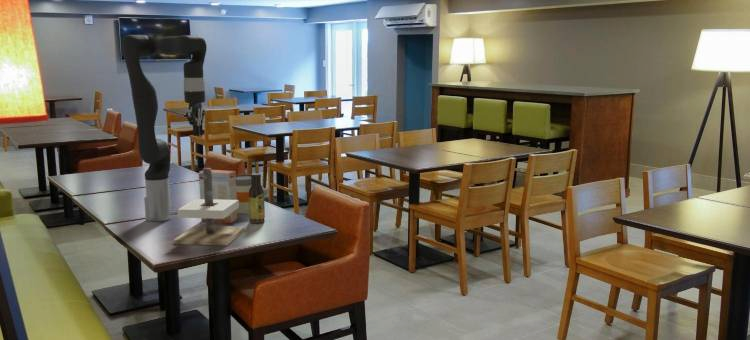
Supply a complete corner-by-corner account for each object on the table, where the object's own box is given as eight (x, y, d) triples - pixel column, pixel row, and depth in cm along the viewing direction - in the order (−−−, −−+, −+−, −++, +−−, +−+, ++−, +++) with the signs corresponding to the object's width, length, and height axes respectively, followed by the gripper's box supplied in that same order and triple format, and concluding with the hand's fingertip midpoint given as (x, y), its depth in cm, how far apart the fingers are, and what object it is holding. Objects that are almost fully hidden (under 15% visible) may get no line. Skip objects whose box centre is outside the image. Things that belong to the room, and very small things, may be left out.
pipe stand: (173, 243, 227) (169, 173, 222) (195, 228, 246) (191, 163, 242) (227, 245, 224) (223, 174, 220) (244, 230, 244) (242, 164, 239)
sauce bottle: (261, 224, 253) (259, 175, 249) (247, 223, 254) (245, 175, 251) (267, 220, 259) (265, 172, 256) (253, 219, 260) (251, 172, 257)
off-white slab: (178, 217, 226) (177, 209, 226) (196, 206, 243) (196, 198, 242) (223, 218, 224) (223, 210, 224) (238, 207, 241) (238, 199, 241)
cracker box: (238, 220, 259) (236, 170, 255) (230, 224, 253) (228, 173, 250) (209, 217, 264) (206, 168, 260) (200, 221, 258) (198, 171, 254)
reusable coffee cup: (256, 214, 269) (255, 179, 266) (227, 214, 269) (225, 179, 267) (262, 207, 282) (261, 174, 279) (234, 207, 282) (233, 174, 279)
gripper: (191, 88, 242) (194, 133, 245) (177, 90, 229) (180, 137, 232) (210, 89, 241) (212, 133, 244) (197, 90, 228) (199, 138, 231)
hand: (196, 135), depth 238 cm, fingers closed
